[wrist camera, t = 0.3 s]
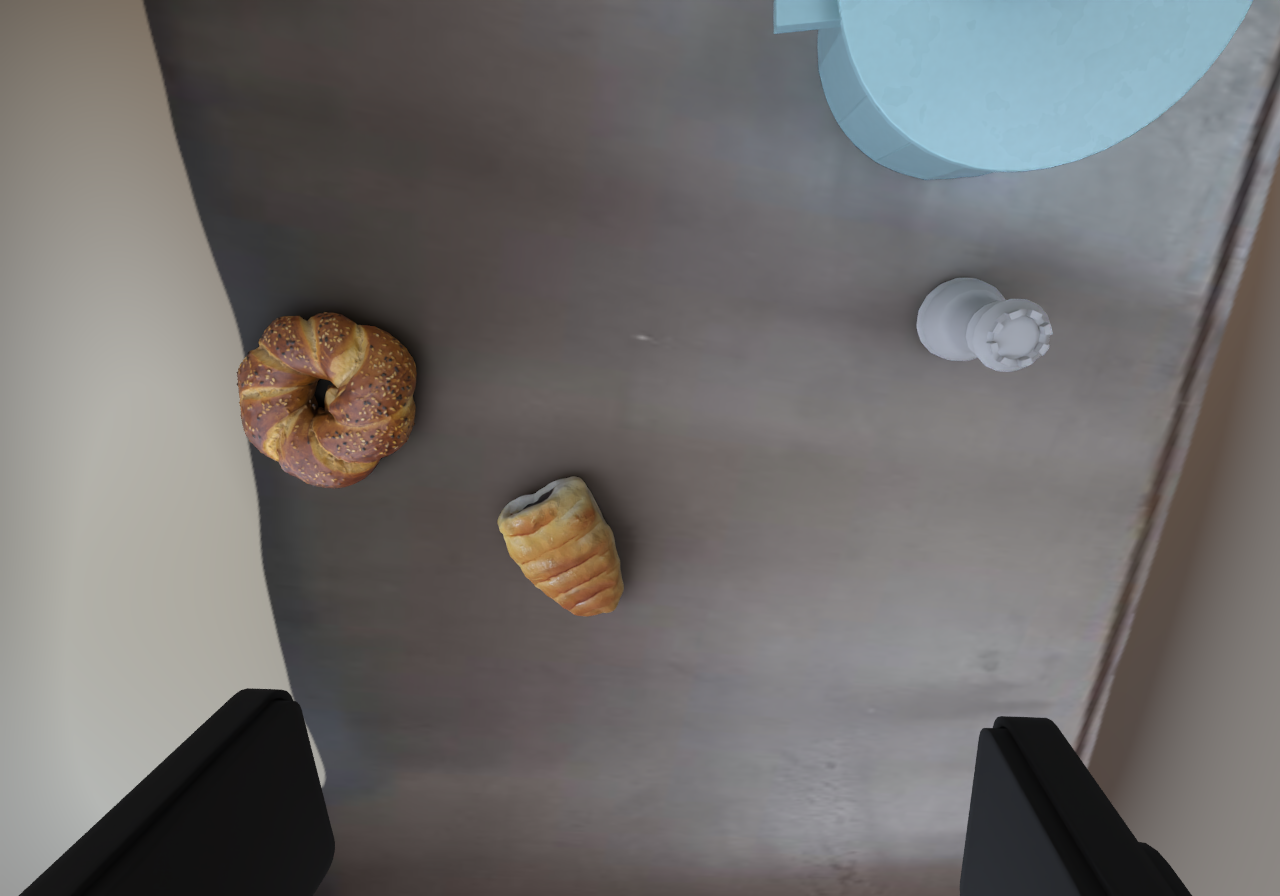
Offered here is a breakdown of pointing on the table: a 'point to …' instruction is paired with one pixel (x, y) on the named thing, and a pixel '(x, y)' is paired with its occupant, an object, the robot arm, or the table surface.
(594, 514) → the pastry
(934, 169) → the pot
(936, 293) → the rook chess piece
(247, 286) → the table surface
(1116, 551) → the table surface
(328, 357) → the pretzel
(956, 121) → the pot lid
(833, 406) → the table surface
